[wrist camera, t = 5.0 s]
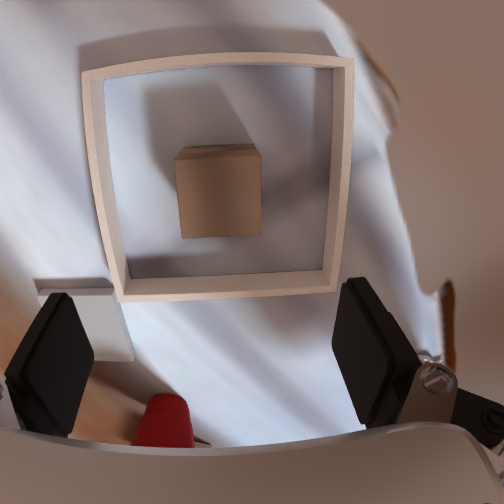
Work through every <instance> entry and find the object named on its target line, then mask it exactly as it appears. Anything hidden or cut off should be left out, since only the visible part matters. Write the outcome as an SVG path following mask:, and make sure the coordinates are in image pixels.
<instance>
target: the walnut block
mask: <svg viewBox="0 0 504 504" xmlns="http://www.w3.org/2000/svg"><path fill="white" fill-rule="evenodd" d="M174 164H175V176H176V187H177V198H178V207H179V217H180V226H181V235H182V239H185V238H203V237H223V236H243V235H261V156H260V154H259V152H258V150H257V149H256V147H255V145H254V144H229V145H209V146H193V147H184V148H183V150H182V151H181V152H180V153H179V155H178V156H177V157H176V159H175V160H174Z"/></svg>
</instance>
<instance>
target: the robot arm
mask: <svg viewBox="0 0 504 504" xmlns="http://www.w3.org/2000/svg"><path fill="white" fill-rule="evenodd" d="M332 349H333V352H334V355H335V357H336V360H337V363H338V365H339V368H340V371H341V373H342V376H343V379H344V381H345V384H346V387H347V389H348V392H349V395H350V397H351V400H352V403H353V406H354V408H355V411H356V414H357V417H358V419H359V422H360V423H361V424H365V426H366V428H367V429H366V430H361V431H356V432H351V433H346V434H340V435H334V436H328V437H322V438H315V439H309V440H302V441H294V442H286V443H277V444H268V445H256V446H242V447H223V448H160V447H141V446H127V445H116V444H106V443H98V442H90V441H83V440H76V439H70V438H67V437H68V434H70V433H71V432H72V430H73V427H74V423H75V419H76V416H77V412H78V409H79V406H80V402H81V399H82V396H83V393H84V389H85V386H86V383H87V380H88V377H89V374H90V371H91V368H92V365H93V362H94V351H93V349H92V346H91V344H90V342H89V339H88V337H87V334H86V332H85V330H84V327H83V325H82V322H81V319H80V317H79V314H78V312H77V309H76V306H75V304H74V301H73V299H72V297H70V296H69V295H68V294H67V293H65V292H53V293H51V294H50V295H49V297H48V298H47V300H46V301H45V303H44V304H43V306H42V308H41V309H40V311H39V313H38V314H37V316H36V317H35V319H34V321H33V322H32V324H31V326H30V327H29V329H28V331H27V333H26V334H25V336H24V338H23V340H22V341H21V343H20V345H19V347H18V349H17V350H16V352H15V354H14V356H13V358H12V360H11V362H10V363H9V365H8V367H7V369H6V371H5V373H4V375H5V376H6V380H5V382H4V381H3V380H1V379H0V504H504V406H503V405H501V404H499V403H496V402H494V401H491V400H488V399H486V398H483V397H481V396H478V395H475V394H473V393H470V392H468V391H465V390H462V389H460V388H458V380H457V378H456V375H455V374H454V373H453V371H452V370H451V369H449V368H448V367H447V366H444V365H442V364H439V363H435V362H434V361H433V359H432V358H431V357H429V356H427V355H422V354H419V355H417V354H416V352H415V351H414V349H413V347H412V346H411V344H410V342H409V341H408V339H407V338H406V336H405V334H404V333H403V331H402V330H401V328H400V326H399V325H398V323H397V322H396V320H395V319H394V317H393V316H392V314H391V313H390V312H388V311H387V310H386V308H385V307H384V305H383V304H382V302H381V300H380V299H379V297H378V296H377V294H376V293H375V291H374V290H373V288H372V287H371V285H370V284H369V282H368V281H367V279H366V278H365V277H356V278H348V279H347V282H346V283H343V284H342V287H341V293H340V299H339V304H338V310H337V316H336V321H335V326H334V332H333V337H332Z"/></svg>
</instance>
